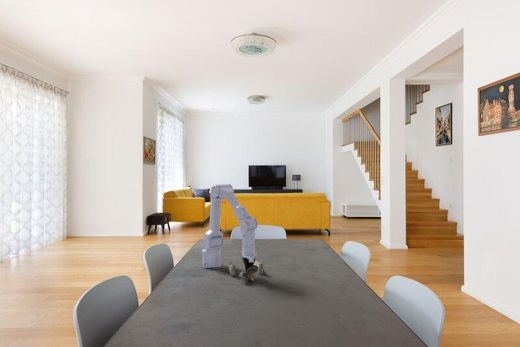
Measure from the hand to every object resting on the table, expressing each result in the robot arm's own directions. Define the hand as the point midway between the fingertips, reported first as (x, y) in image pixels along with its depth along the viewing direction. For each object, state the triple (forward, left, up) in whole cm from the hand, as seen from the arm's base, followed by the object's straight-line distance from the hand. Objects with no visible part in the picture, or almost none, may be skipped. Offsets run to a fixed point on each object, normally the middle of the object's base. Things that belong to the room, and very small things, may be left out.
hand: (248, 273), depth 144 cm
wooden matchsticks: (0, +11, -2) cm, 11 cm away
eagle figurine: (0, -4, -2) cm, 4 cm away
